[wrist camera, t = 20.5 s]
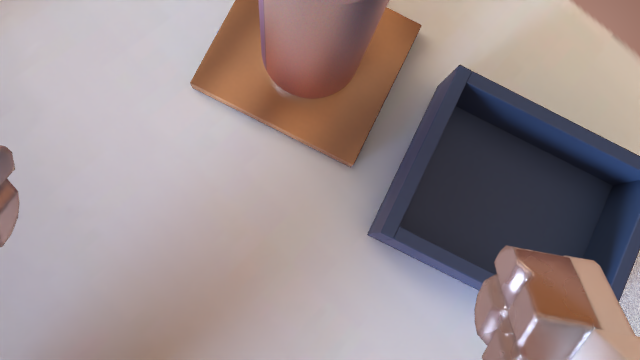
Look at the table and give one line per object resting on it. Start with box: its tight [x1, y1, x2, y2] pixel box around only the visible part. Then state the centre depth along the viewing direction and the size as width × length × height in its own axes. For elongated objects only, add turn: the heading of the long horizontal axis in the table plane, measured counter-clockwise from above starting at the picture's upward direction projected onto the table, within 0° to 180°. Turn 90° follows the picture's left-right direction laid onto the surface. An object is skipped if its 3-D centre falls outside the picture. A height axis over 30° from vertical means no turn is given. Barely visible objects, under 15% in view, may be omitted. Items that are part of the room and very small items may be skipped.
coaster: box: [190, 0, 421, 167], centre depth 35 cm, size 11×10×1 cm
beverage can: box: [258, 0, 389, 99], centre depth 27 cm, size 6×6×15 cm
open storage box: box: [367, 65, 640, 302], centre depth 34 cm, size 14×11×4 cm
